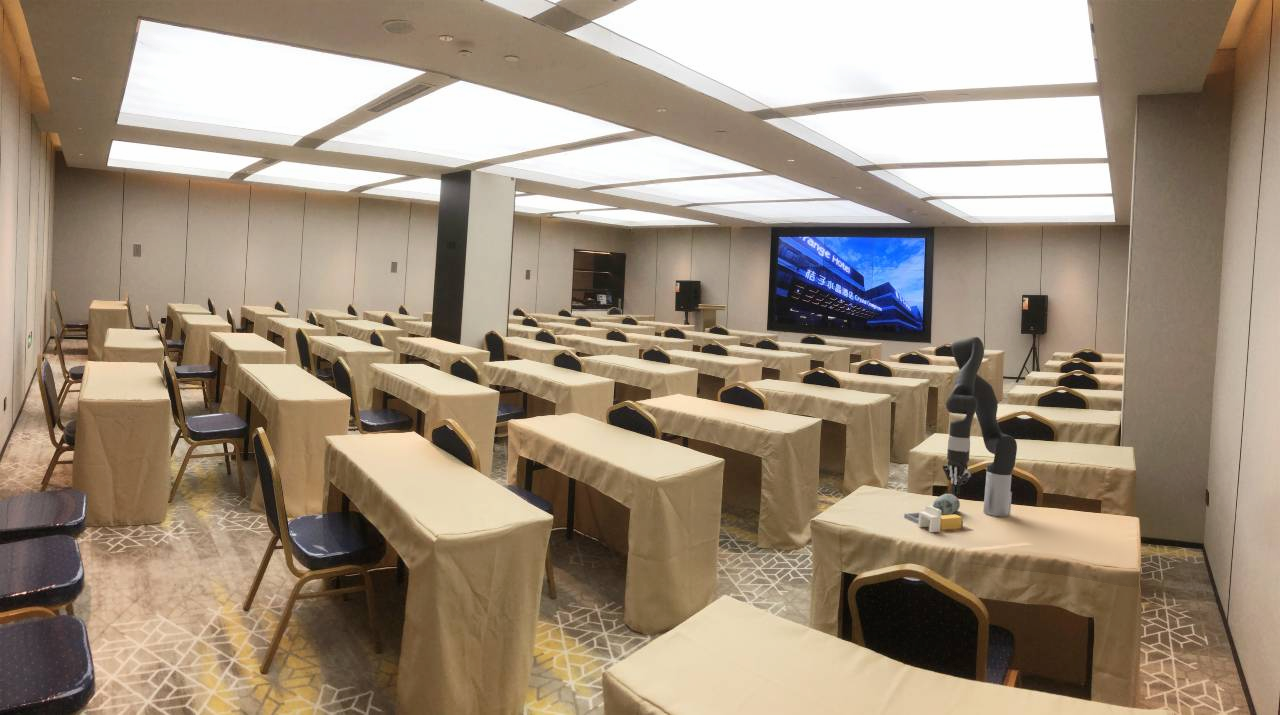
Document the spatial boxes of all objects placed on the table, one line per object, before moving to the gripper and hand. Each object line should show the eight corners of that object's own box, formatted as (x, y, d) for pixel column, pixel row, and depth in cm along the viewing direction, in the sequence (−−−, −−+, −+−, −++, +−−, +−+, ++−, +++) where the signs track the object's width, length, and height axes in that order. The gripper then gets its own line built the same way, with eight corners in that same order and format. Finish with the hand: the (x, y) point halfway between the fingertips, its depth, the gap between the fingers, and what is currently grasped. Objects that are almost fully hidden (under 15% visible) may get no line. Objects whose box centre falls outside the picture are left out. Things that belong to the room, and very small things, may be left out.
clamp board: (954, 524, 281) (954, 515, 280) (973, 532, 271) (974, 523, 271) (916, 527, 275) (916, 519, 274) (935, 536, 265) (935, 527, 265)
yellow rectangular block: (954, 525, 277) (955, 514, 276) (961, 528, 273) (962, 517, 273) (935, 526, 274) (936, 516, 273) (942, 529, 270) (943, 519, 270)
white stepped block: (926, 525, 274) (928, 504, 273) (939, 531, 268) (941, 510, 267) (918, 526, 273) (919, 505, 272) (931, 532, 267) (932, 511, 266)
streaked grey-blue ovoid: (955, 514, 283) (947, 489, 287) (932, 519, 289) (924, 495, 293) (968, 515, 292) (960, 491, 296) (946, 521, 298) (938, 497, 302)
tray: (931, 517, 289) (932, 511, 289) (948, 524, 280) (949, 518, 280) (904, 519, 284) (904, 513, 284) (920, 527, 276) (920, 521, 276)
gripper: (937, 445, 274) (934, 489, 276) (964, 452, 262) (960, 499, 263) (953, 444, 277) (950, 488, 278) (980, 451, 264) (976, 498, 266)
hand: (955, 493), depth 271 cm, fingers closed
